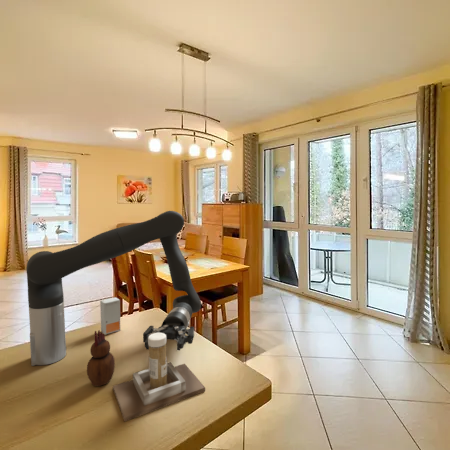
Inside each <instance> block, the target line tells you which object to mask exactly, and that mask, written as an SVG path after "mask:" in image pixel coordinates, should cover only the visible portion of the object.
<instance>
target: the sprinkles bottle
mask: <svg viewBox="0 0 450 450" xmlns="http://www.w3.org/2000/svg"><path fill="white" fill-rule="evenodd" d="M166 344H167V340H166V335H165V334H164V333H154V334H151V335H150V336H149V337H148V345H149V350H148V369H149V372H150V389H155V388H158V387H161V386H164V385H167V384H168V383H167V363H168V362H167V345H166Z"/></svg>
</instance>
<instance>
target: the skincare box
mask: <svg viewBox="0 0 450 450" xmlns="http://www.w3.org/2000/svg"><path fill="white" fill-rule="evenodd" d="M99 304H100V305H99V306H100V307H99V308H100V332H101V331H102V332H101V333H102V334H104V336H106V335H108V334H112V333H116V332H120V331H121V299H119V298H118V297H116V296H115V297H111V298H106V299H101V300H99Z"/></svg>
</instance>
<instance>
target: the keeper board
mask: <svg viewBox="0 0 450 450" xmlns="http://www.w3.org/2000/svg"><path fill="white" fill-rule="evenodd" d="M166 363H167V383H168V384H167V385H164V386H161V387H158V388H155V389H150V372H149V368H147V369H143V370H140V371H137V372H133V373H132V379H130V380H128V381H124V382H121V383H118V384H114V385H112V391H113V393H114V396H115V399H116V401H117V405H118V407H119V410H120V412H121V415H122V418H123V421H124V422H127V421H130V420H132V419H135V418H137V417H141V416H142V415H145V414H149V413H151V412H153V411H156V410H159V409H161V408H164V407H166V406H167V407H168V406H169V405H172V404H175V403H177V402H179V401H182V400H185V399H188V398H190V397H193V396H196V395H198V394H201V393H204V392H206V387H205V385H204V383H202V381H200V379H198V377H197V376H196V375H195V374H194V372H193V371H192V370H191V368H189V367H188V366H187V365H186V363H182V364H178V365H176V366H174V365H173V363H172V362H166Z"/></svg>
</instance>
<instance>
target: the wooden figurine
mask: <svg viewBox="0 0 450 450" xmlns="http://www.w3.org/2000/svg"><path fill="white" fill-rule="evenodd" d="M105 336H106V335H105V334H104V333H103V332H101V329H99V330H97V331H96V330H95V331H94V342H93V343H92V345H91V346H90V350H89V351H90V355H91V358H89V360H88V362H87V365H86V374H87V378H88V379H89V381H90V383H91V384H92V385H93V386H94V387H101V386H104V385H106V384H108V383H109V382H110V381H111V380H112V378H113V376H114V372H115V368H116V367H115V366H116V364H115V357H114V355H113V353H111V352H110V351H111V344H110V342H109V340H107V339H106V337H105Z"/></svg>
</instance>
